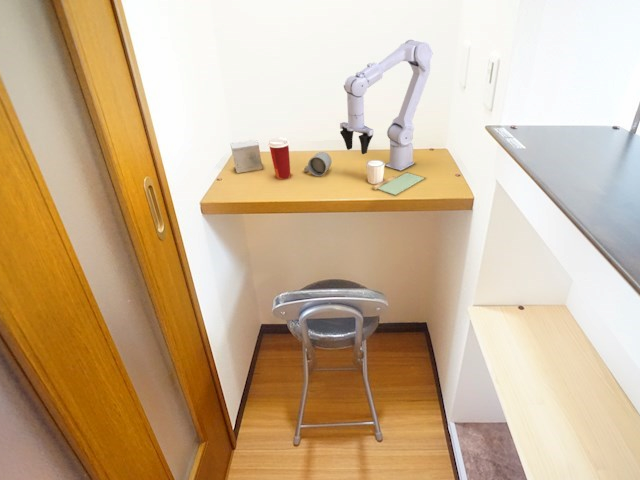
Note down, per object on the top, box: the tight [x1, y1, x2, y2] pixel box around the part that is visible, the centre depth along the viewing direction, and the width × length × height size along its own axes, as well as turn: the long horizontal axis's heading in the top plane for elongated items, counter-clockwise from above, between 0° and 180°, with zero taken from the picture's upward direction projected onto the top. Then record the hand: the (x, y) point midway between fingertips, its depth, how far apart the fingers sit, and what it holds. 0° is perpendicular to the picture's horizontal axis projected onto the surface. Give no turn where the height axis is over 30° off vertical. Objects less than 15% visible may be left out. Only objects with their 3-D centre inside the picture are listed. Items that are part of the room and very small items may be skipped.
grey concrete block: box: [230, 139, 264, 174], centre depth 159 cm, size 10×6×10 cm, turn 110°
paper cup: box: [267, 137, 291, 180], centre depth 151 cm, size 8×8×14 cm
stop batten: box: [372, 175, 397, 191], centre depth 146 cm, size 12×1×1 cm, turn 137°
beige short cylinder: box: [365, 159, 386, 185], centre depth 147 cm, size 7×7×7 cm
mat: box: [376, 172, 425, 196], centre depth 146 cm, size 18×8×1 cm, turn 137°
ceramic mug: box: [303, 151, 332, 177], centre depth 155 cm, size 11×8×8 cm
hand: (356, 151), depth 148 cm, fingers open, 7 cm apart
